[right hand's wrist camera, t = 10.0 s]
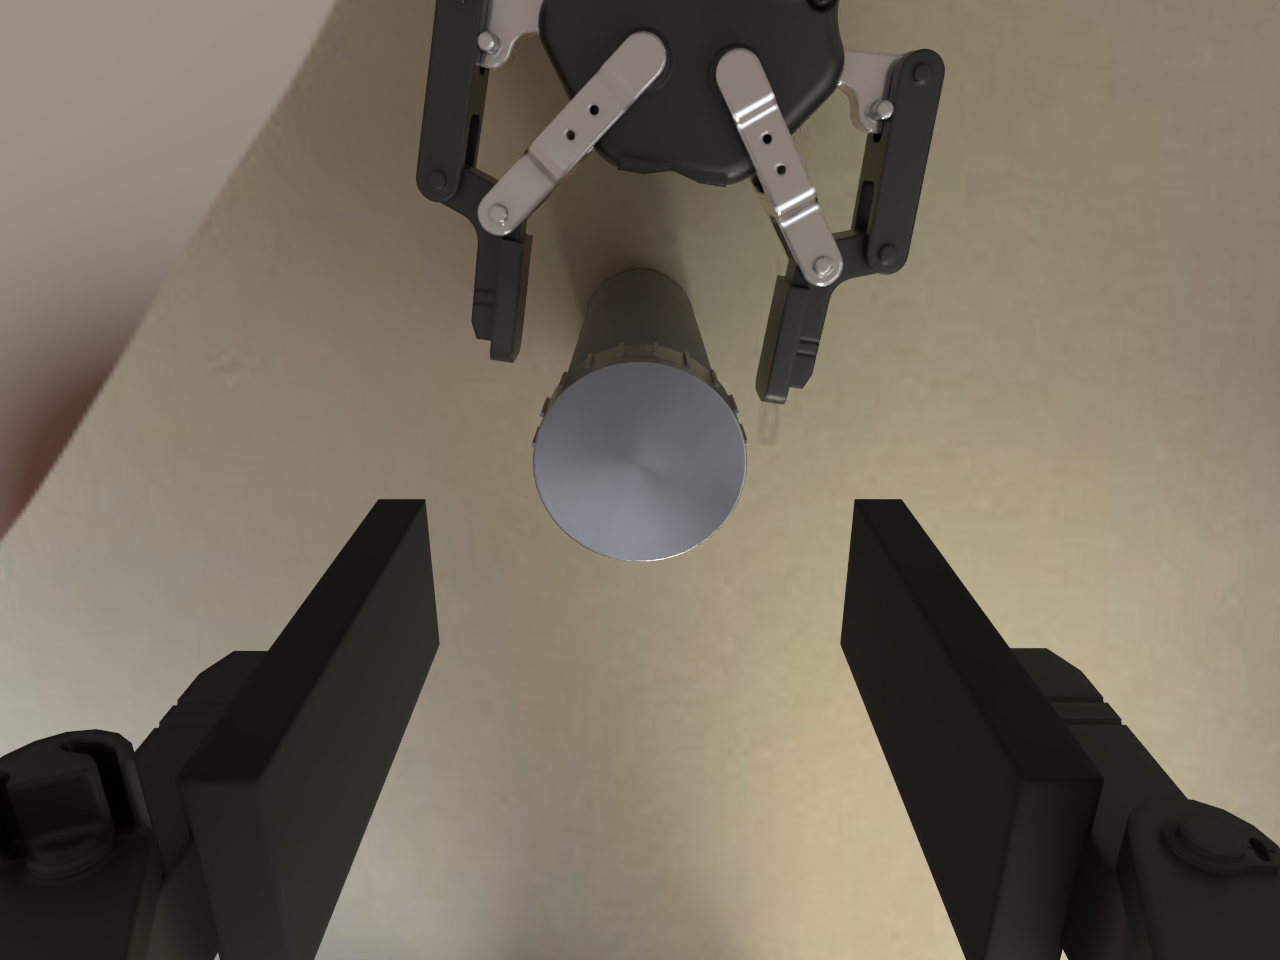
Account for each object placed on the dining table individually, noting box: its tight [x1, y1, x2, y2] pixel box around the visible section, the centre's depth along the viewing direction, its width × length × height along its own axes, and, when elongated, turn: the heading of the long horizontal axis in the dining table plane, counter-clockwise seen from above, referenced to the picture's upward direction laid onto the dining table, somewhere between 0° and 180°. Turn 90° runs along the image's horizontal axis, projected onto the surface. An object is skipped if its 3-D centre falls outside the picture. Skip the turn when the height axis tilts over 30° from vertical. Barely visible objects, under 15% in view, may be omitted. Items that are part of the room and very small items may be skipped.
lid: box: [532, 342, 748, 561], centre depth 20 cm, size 5×5×2 cm
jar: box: [568, 269, 711, 373], centre depth 27 cm, size 4×4×15 cm
